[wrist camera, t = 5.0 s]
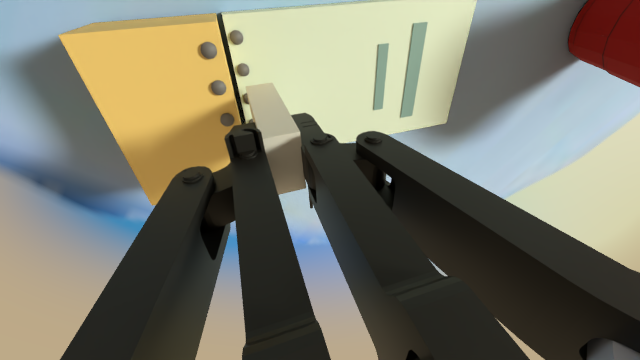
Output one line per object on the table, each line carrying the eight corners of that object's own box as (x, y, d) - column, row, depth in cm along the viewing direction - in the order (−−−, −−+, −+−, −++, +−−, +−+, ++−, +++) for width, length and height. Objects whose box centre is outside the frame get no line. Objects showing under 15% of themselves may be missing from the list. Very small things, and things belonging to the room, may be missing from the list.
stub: (93, 22, 14) (56, 35, 11) (215, 13, 15) (215, 21, 12) (162, 169, 19) (151, 207, 16) (248, 153, 21) (254, 185, 17)
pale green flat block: (221, 12, 15) (221, 15, 14) (462, -8, 19) (480, -7, 18) (252, 150, 21) (254, 161, 20) (435, 116, 24) (447, 124, 23)
